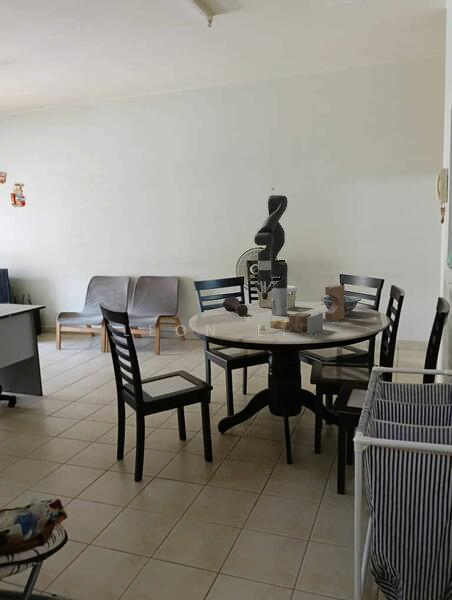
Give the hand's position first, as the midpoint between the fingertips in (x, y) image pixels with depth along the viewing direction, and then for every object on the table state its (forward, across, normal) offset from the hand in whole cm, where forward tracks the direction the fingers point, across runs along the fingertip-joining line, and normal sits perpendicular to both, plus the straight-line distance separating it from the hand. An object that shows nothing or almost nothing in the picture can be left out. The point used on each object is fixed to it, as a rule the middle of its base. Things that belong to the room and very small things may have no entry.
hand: (265, 299), depth 271 cm
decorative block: (+15, +27, +34) cm, 46 cm away
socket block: (+15, +22, 0) cm, 27 cm away
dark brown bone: (+16, -40, +28) cm, 52 cm away
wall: (+15, +31, 0) cm, 35 cm away
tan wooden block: (+16, +9, 0) cm, 18 cm away
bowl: (+15, +22, +54) cm, 60 cm away
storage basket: (+15, -26, +57) cm, 64 cm away
